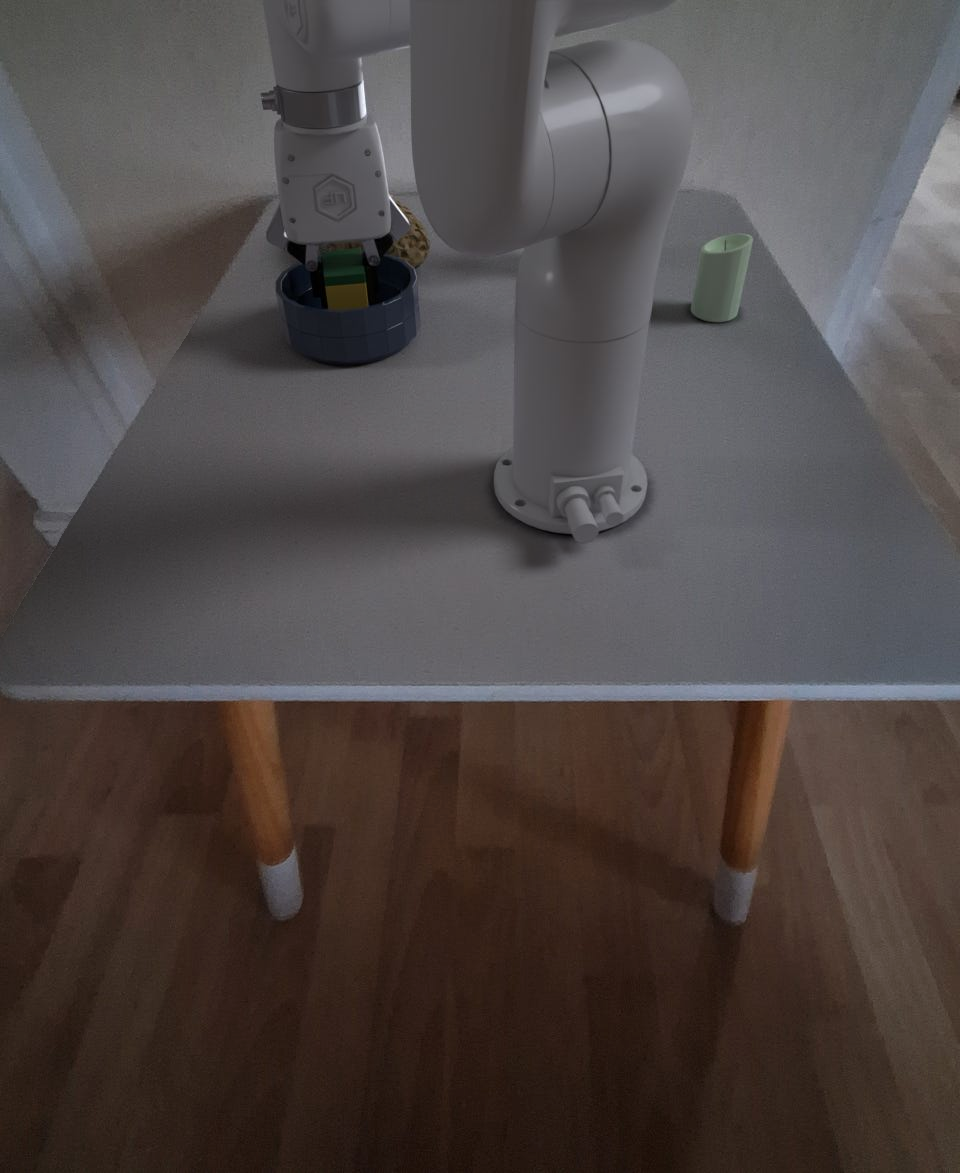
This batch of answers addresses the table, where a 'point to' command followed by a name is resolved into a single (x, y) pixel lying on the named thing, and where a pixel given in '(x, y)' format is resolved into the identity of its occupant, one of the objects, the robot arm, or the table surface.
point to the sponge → (400, 241)
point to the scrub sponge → (344, 279)
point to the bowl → (350, 316)
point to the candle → (721, 277)
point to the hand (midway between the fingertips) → (347, 299)
